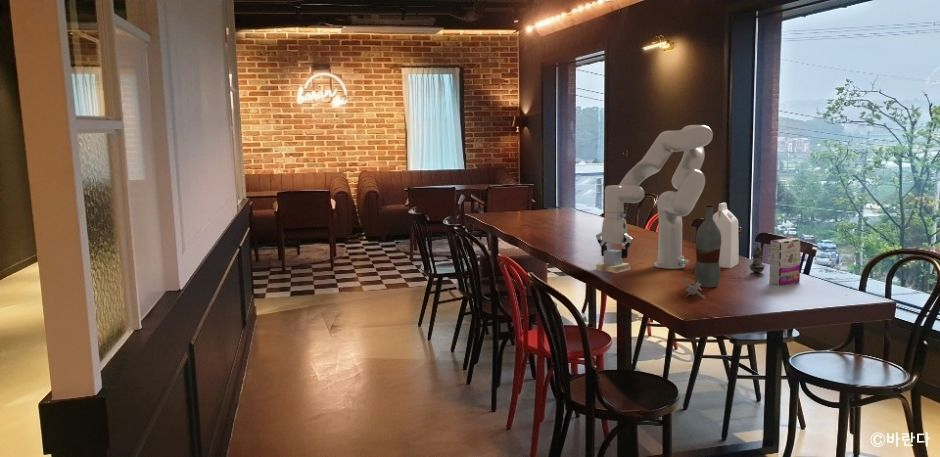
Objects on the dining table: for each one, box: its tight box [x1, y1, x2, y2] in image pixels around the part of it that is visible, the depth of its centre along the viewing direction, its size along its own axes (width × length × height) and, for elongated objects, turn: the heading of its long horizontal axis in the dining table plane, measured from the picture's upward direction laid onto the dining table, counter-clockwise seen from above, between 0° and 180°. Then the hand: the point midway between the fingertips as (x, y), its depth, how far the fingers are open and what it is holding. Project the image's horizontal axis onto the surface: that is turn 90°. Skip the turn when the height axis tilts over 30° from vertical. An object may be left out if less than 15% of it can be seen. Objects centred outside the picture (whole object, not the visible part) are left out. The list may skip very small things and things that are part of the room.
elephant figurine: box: [681, 278, 707, 300], centre depth 247 cm, size 10×6×9 cm
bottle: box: [693, 203, 722, 288], centre depth 264 cm, size 9×9×30 cm
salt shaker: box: [748, 244, 766, 277], centre depth 282 cm, size 6×6×12 cm
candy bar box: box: [768, 237, 802, 287], centre depth 266 cm, size 11×5×16 cm, turn 118°
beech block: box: [595, 261, 631, 274], centre depth 296 cm, size 10×10×3 cm
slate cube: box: [603, 248, 624, 266], centre depth 296 cm, size 6×6×6 cm
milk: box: [713, 202, 740, 269], centre depth 303 cm, size 12×12×26 cm
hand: (614, 256), depth 296 cm, fingers open, 9 cm apart
